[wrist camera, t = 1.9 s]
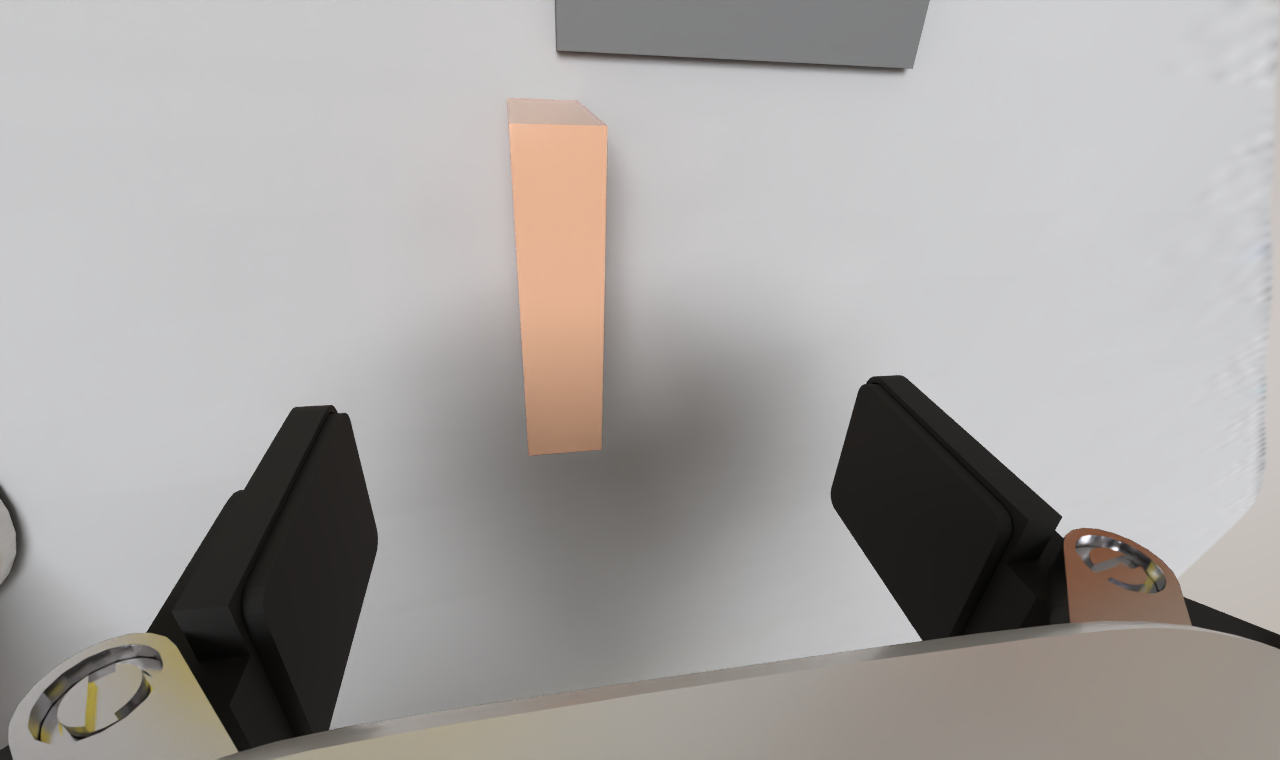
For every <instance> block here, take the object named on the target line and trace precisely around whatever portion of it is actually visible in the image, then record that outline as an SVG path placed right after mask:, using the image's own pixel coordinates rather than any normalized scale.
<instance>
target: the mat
mask: <svg viewBox="0 0 1280 760" xmlns="http://www.w3.org/2000/svg"><path fill="white" fill-rule="evenodd" d="M929 1H930V0H555V23H556V50H558V51H578V52H597V53H617V54H636V55H656V56H676V57H695V58H715V59H735V60H754V61H774V62H794V63H813V64H833V65H853V66H872V67H892V68H912V69H913V65H914V61H915V57H916V53H917V49H918V45H919V41H920V37H921V33H922V29H923V25H924V21H925V17H926V13H927V9H928V5H929Z"/></svg>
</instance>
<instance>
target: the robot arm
mask: <svg viewBox="0 0 1280 760" xmlns="http://www.w3.org/2000/svg"><path fill="white" fill-rule="evenodd" d="M831 501H832V504H833V507H834V508H835V510H836V512H837V513H838V515H839V516H840V518H841V519H842V521H843V522H844V524H845V525H846V527H847V528H848V530H849V531H850V533H851V534H852V536H853V537H854V539H855V540H856V542H857V543H858V545H859V546H860V548H861V549H862V551H863V552H864V554H865V555H866V557H867V558H868V560H869V561H870V563H871V564H872V566H873V567H874V569H875V570H876V572H877V573H878V575H879V576H880V578H881V579H882V581H883V582H884V584H885V585H886V587H887V588H888V590H889V591H890V593H891V594H892V596H893V597H894V599H895V600H896V602H897V603H898V605H899V606H900V608H901V609H902V611H903V612H904V614H905V615H906V617H907V618H908V620H909V621H910V623H911V624H912V626H913V627H914V629H915V630H916V632H917V633H918V635H919V636H920V638H921V639H922V641H919V642H912V643H905V644H897V645H890V646H883V647H876V648H868V649H861V650H854V651H846V652H839V653H832V654H825V655H818V656H811V657H804V658H797V659H790V660H783V661H776V662H769V663H762V664H755V665H748V666H741V667H734V668H727V669H720V670H713V671H706V672H699V673H692V674H685V675H678V676H671V677H664V678H657V679H651V680H644V681H637V682H630V683H623V684H617V685H610V686H603V687H597V688H590V689H583V690H576V691H570V692H563V693H556V694H550V695H543V696H536V697H529V698H523V699H516V700H509V701H503V702H496V703H489V704H482V705H476V706H469V707H463V708H457V709H451V710H445V711H439V712H433V713H427V714H421V715H415V716H409V717H403V718H397V719H390V720H384V721H378V722H372V723H366V724H360V725H354V726H348V727H343V728H338V729H333V730H329V727H330V723H331V720H332V716H333V712H334V708H335V705H336V701H337V697H338V694H339V690H340V686H341V682H342V679H343V675H344V671H345V668H346V664H347V660H348V656H349V653H350V649H351V645H352V642H353V638H354V634H355V630H356V627H357V623H358V619H359V616H360V612H361V608H362V604H363V601H364V597H365V593H366V589H367V586H368V582H369V578H370V575H371V571H372V567H373V563H374V560H375V556H376V552H377V545H378V534H377V528H376V524H375V520H374V516H373V512H372V508H371V503H370V499H369V495H368V491H367V487H366V483H365V479H364V475H363V471H362V466H361V462H360V458H359V454H358V450H357V446H356V442H355V438H354V434H353V430H352V425H351V421H350V418H349V416H348V414H346V413H337V410H336V409H335V407H334V406H332V405H324V406H305V407H295V408H293V409H292V410H291V412H290V413H289V415H288V417H287V418H286V420H285V422H284V423H283V425H282V427H281V428H280V430H279V432H278V433H277V435H276V437H275V438H274V440H273V442H272V443H271V445H270V447H269V448H268V450H267V452H266V454H265V455H264V457H263V459H262V460H261V462H260V464H259V465H258V467H257V469H256V470H255V472H254V474H253V475H252V477H251V479H250V480H249V482H248V484H247V485H246V487H245V489H244V490H239V491H237V492H235V493H234V494H233V495H232V496H231V497H230V498H229V500H228V501H227V503H226V504H225V506H224V507H223V509H222V511H221V512H220V514H219V516H218V517H217V519H216V520H215V522H214V524H213V525H212V527H211V529H210V530H209V532H208V533H207V535H206V537H205V538H204V540H203V541H202V543H201V545H200V546H199V548H198V550H197V551H196V553H195V554H194V556H193V558H192V559H191V561H190V563H189V564H188V566H187V567H186V569H185V571H184V572H183V574H182V576H181V577H180V579H179V580H178V582H177V584H176V585H175V587H174V589H173V590H172V592H171V593H170V595H169V597H168V598H167V600H166V602H165V603H164V605H163V606H162V608H161V610H160V611H159V613H158V615H157V616H156V618H155V619H154V621H153V623H152V624H151V626H150V628H149V629H148V631H147V632H146V633H135V634H127V635H123V636H119V637H116V638H112V639H108V640H105V641H103V642H100V643H98V644H96V645H94V646H91V647H89V648H87V649H85V650H82V651H80V652H79V653H77V654H76V655H74V656H72V657H71V658H69V659H68V660H66V661H64V662H63V663H61V664H59V665H58V666H56V667H55V668H54V669H53V670H52V671H50V672H49V673H48V674H47V675H46V676H45V677H43V678H42V679H41V680H40V681H39V682H37V683H36V684H35V685H34V686H33V688H32V689H31V690H30V691H29V692H28V694H27V695H26V696H25V697H24V698H23V700H22V701H21V702H20V703H19V704H18V706H17V708H16V710H15V712H14V715H13V717H12V719H11V721H10V723H9V729H8V744H9V745H8V746H6V747H5V748H3V749H1V750H0V760H1280V635H1278V634H1276V633H1274V632H1271V631H1269V630H1266V629H1263V628H1261V627H1258V626H1256V625H1253V624H1251V623H1248V622H1246V621H1243V620H1241V619H1238V618H1235V617H1233V616H1230V615H1228V614H1225V613H1223V612H1220V611H1218V610H1215V609H1213V608H1210V607H1208V606H1205V605H1203V604H1200V603H1198V602H1195V601H1192V600H1190V599H1187V598H1185V597H1183V594H1182V591H1181V588H1180V584H1179V582H1178V580H1177V578H1176V576H1175V575H1174V573H1173V571H1172V570H1171V569H1170V568H1169V567H1168V566H1167V565H1166V564H1165V563H1164V562H1163V561H1162V560H1161V559H1160V558H1158V557H1157V556H1156V555H1154V554H1153V553H1152V552H1150V551H1149V550H1148V549H1146V548H1144V547H1142V546H1141V545H1139V544H1137V543H1135V542H1134V541H1132V540H1130V539H1127V538H1125V537H1122V536H1120V535H1117V534H1115V533H1112V532H1108V531H1104V530H1100V529H1092V528H1080V529H1075V530H1072V531H1070V532H1069V533H1068V534H1066V535H1065V537H1064V538H1063V537H1061V536H1060V535H1059V534H1058V533H1057V532H1056V531H1055V529H1056V527H1057V526H1058V524H1059V522H1060V520H1061V518H1062V516H1061V515H1060V514H1059V513H1057V512H1056V511H1055V510H1054V509H1053V508H1052V507H1051V506H1050V505H1048V504H1047V503H1046V502H1045V501H1044V500H1043V499H1042V498H1041V497H1039V496H1038V495H1037V494H1036V493H1035V492H1034V491H1033V490H1032V489H1030V488H1029V487H1028V486H1027V485H1026V484H1025V483H1024V482H1023V481H1021V480H1020V479H1019V478H1018V477H1017V476H1016V475H1015V474H1014V473H1012V472H1011V471H1010V470H1009V469H1008V468H1007V467H1006V466H1005V465H1003V464H1002V463H1001V462H1000V461H999V460H998V459H997V458H996V457H994V456H993V455H992V454H991V453H990V452H989V451H988V450H987V449H985V448H984V447H983V446H982V445H981V444H980V443H979V442H978V441H976V440H975V439H974V438H973V437H972V436H971V435H970V434H969V433H967V432H966V431H965V430H964V429H963V428H962V427H961V426H960V425H958V424H957V423H956V422H955V421H954V420H953V419H952V418H951V417H949V416H948V415H947V414H946V413H945V412H944V411H943V410H942V409H940V408H939V407H938V406H937V405H936V404H935V403H934V402H933V401H931V400H930V399H929V398H928V397H927V396H926V395H925V394H924V393H922V392H921V391H920V390H919V389H918V388H917V387H916V386H915V385H914V384H912V383H911V382H910V381H909V380H908V379H907V378H905V377H904V376H900V375H895V376H876V377H872V378H870V379H869V380H868V381H867V383H866V384H864V385H862V386H861V387H860V389H859V391H858V394H857V398H856V402H855V405H854V409H853V412H852V416H851V420H850V423H849V427H848V430H847V434H846V438H845V441H844V445H843V448H842V452H841V456H840V459H839V463H838V466H837V470H836V474H835V477H834V481H833V484H832V488H831ZM15 556H16V532H15V529H14V526H13V523H12V520H11V517H10V514H9V512H8V510H7V508H6V507H5V505H4V504H3V502H2V501H1V499H0V584H1V583H2V582H3V581H4V579H5V578H6V577H7V576H8V574H9V573H10V570H11V567H12V565H13V562H14V559H15Z"/></svg>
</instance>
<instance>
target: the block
mask: <svg viewBox="0 0 1280 760" xmlns="http://www.w3.org/2000/svg"><path fill="white" fill-rule="evenodd" d="M507 108H508V125H509V142H510V158H511V175H512V192H513V208H514V225H515V242H516V258H517V275H518V292H519V309H520V325H521V342H522V359H523V374H524V390H525V406H526V422H527V437H528V453H529V456H531V455H543V454H555V453H567V452H579V451H591V450H602V398H603V342H604V286H605V230H606V175H607V125H606V124H605V123H603V122H602V121H601V120H600V119H599V118H597V117H596V116H595V115H594V114H593V113H592V112H590V111H589V110H588V109H587V108H586V107H584V106H583V105H582V104H581V103H580V102H579V101H577V100H553V99H524V98H507Z"/></svg>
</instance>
